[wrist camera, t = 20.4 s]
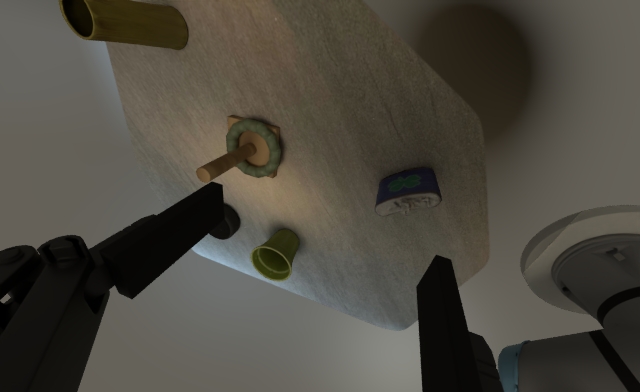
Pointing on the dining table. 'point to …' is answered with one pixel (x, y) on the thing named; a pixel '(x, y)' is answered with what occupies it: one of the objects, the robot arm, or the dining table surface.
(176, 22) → the vase
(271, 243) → the plant pot
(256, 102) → the dining table surface
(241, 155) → the post
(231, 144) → the ring
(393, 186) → the flask
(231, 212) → the smart speaker
